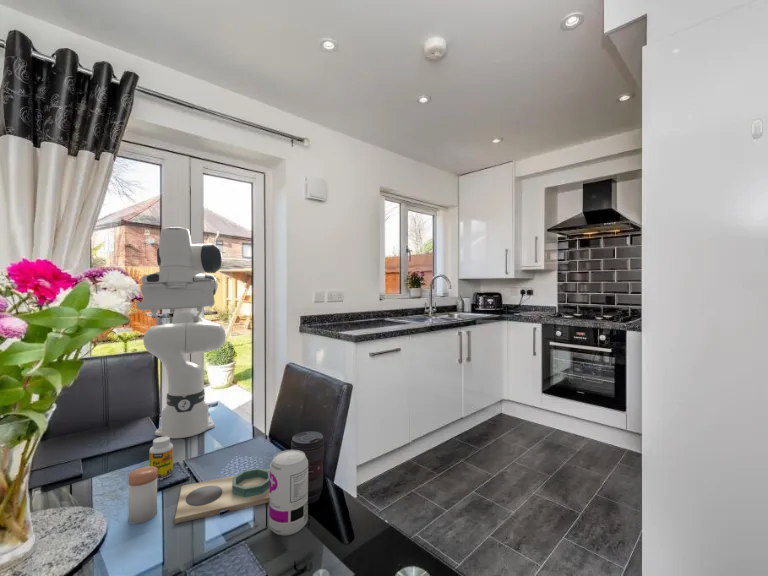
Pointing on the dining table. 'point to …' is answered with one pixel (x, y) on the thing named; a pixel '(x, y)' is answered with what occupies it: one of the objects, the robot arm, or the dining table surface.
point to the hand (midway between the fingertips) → (178, 323)
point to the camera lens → (311, 460)
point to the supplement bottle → (162, 456)
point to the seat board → (223, 494)
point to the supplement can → (288, 492)
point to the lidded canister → (142, 494)
